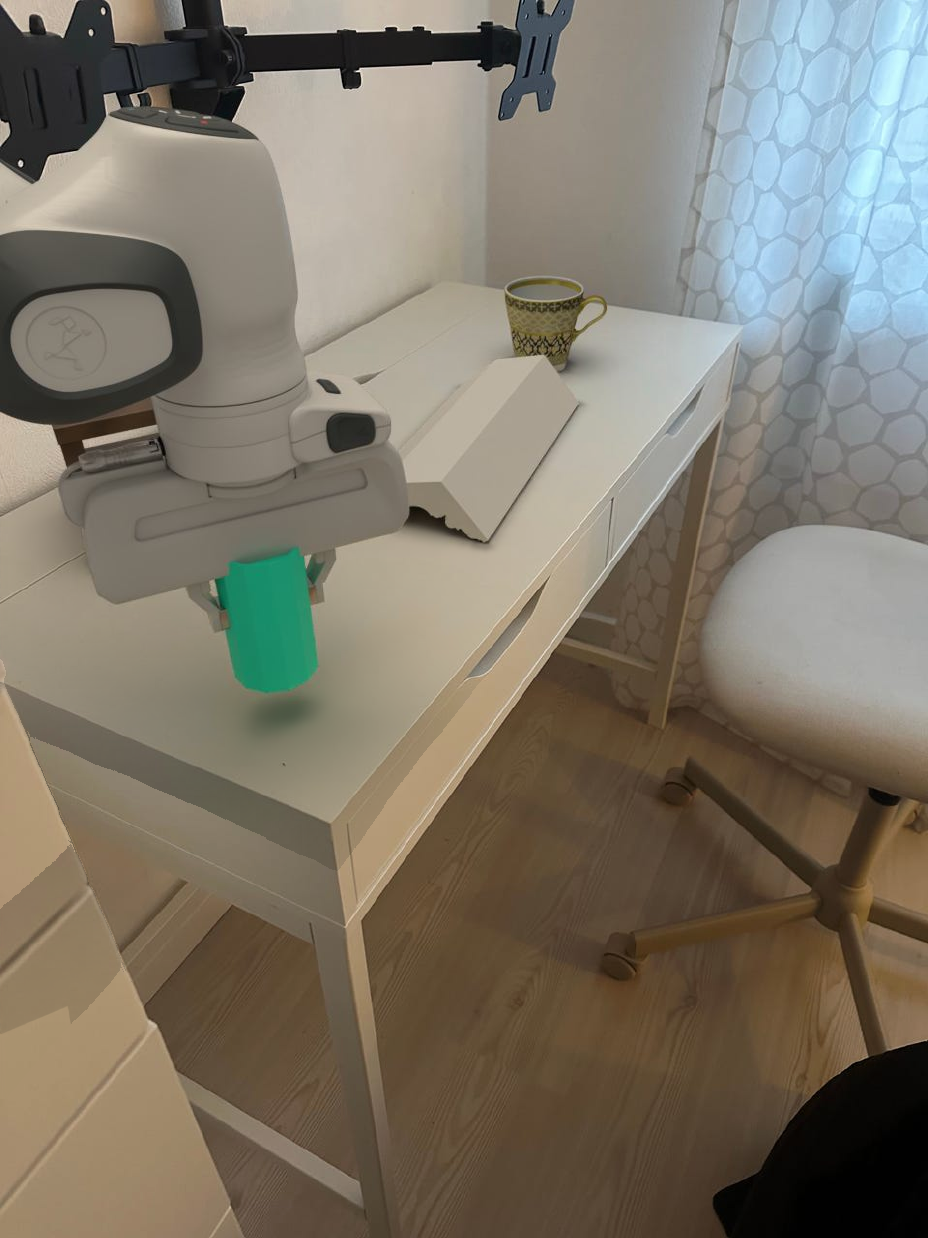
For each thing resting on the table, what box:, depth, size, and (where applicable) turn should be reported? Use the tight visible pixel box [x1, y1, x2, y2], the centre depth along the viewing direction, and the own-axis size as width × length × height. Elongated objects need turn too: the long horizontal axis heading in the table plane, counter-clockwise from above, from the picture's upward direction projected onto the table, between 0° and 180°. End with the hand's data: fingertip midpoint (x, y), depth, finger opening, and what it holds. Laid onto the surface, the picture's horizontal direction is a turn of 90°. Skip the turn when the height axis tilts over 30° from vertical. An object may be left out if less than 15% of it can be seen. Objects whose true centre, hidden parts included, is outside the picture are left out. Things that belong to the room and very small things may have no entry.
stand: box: [51, 397, 160, 473], centre depth 86 cm, size 20×14×14 cm
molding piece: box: [397, 355, 580, 543], centre depth 98 cm, size 32×12×10 cm
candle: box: [214, 547, 319, 694], centre depth 60 cm, size 6×6×12 cm
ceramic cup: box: [503, 275, 608, 373], centre depth 114 cm, size 13×10×10 cm
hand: (268, 612), depth 61 cm, fingers closed on candle, 5 cm apart
